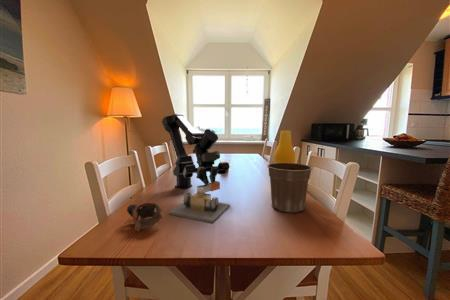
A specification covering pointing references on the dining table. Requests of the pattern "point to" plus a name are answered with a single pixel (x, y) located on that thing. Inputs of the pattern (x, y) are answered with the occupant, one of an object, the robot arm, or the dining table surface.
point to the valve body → (201, 202)
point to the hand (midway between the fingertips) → (211, 188)
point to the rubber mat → (200, 212)
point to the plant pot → (289, 186)
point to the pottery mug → (144, 214)
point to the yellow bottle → (284, 149)
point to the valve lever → (208, 187)
